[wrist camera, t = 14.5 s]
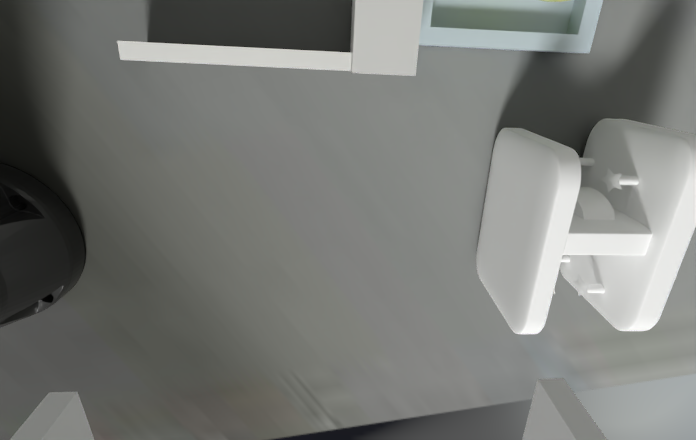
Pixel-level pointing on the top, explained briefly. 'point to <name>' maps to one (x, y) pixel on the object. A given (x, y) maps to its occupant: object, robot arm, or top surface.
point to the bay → (364, 57)
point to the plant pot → (554, 0)
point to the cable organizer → (588, 222)
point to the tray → (510, 24)
